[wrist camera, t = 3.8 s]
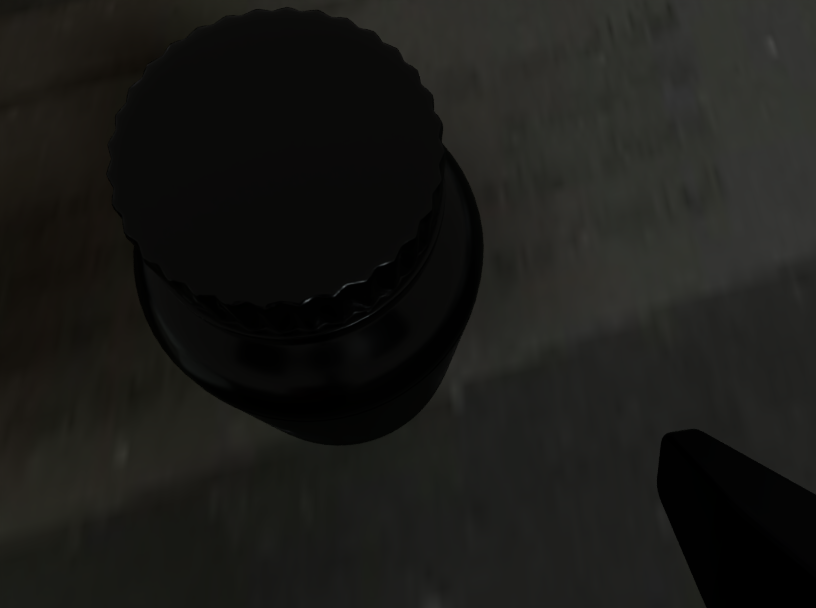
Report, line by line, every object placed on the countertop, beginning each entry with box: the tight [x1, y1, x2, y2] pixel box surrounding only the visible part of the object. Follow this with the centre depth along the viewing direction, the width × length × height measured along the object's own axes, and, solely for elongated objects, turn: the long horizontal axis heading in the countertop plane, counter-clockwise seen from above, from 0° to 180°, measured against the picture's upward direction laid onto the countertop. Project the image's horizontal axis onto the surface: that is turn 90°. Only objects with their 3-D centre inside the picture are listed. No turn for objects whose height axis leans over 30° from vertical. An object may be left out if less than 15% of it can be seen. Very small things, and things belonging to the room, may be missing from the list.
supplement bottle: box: [106, 7, 484, 446], centre depth 15 cm, size 7×7×12 cm
